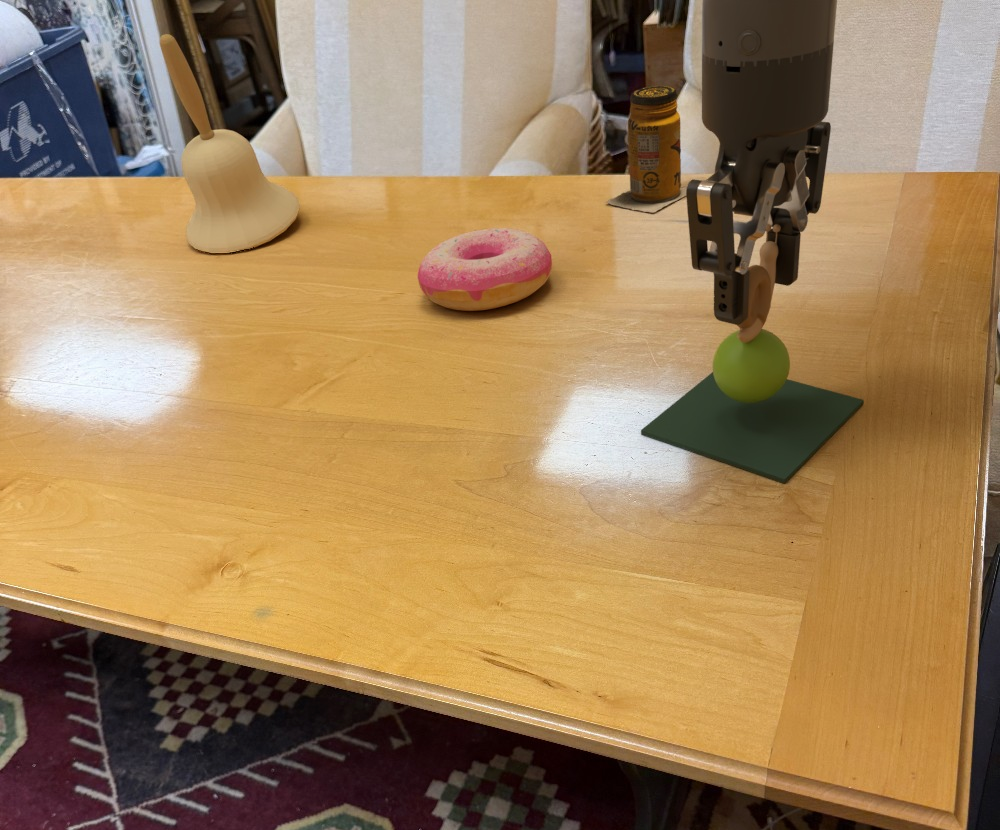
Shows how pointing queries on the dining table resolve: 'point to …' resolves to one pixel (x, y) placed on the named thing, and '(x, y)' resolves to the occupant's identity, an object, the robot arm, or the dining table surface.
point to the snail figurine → (754, 340)
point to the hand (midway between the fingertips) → (756, 300)
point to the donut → (484, 269)
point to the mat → (755, 426)
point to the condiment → (653, 151)
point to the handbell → (224, 177)
